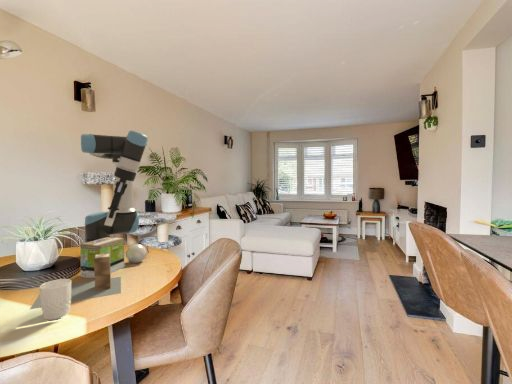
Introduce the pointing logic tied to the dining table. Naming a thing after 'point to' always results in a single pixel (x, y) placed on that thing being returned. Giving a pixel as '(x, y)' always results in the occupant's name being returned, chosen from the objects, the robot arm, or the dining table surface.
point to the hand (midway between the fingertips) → (108, 225)
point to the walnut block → (102, 272)
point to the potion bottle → (136, 253)
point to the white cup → (55, 298)
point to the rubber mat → (88, 291)
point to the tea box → (102, 247)
